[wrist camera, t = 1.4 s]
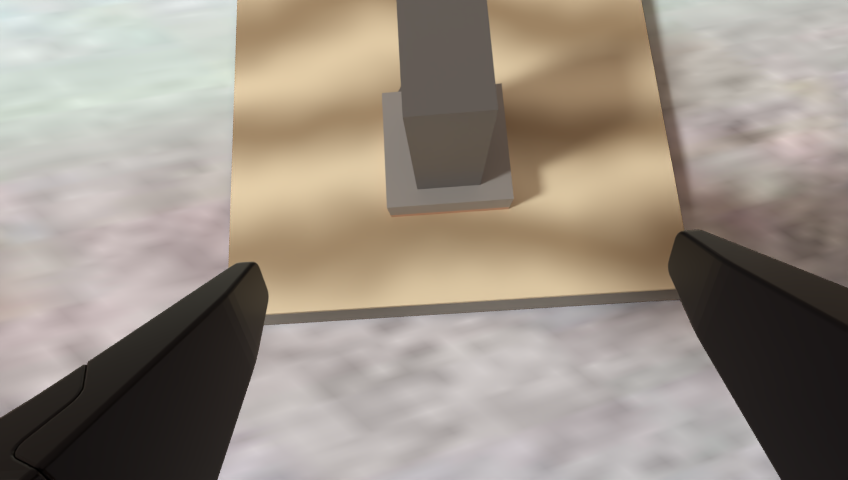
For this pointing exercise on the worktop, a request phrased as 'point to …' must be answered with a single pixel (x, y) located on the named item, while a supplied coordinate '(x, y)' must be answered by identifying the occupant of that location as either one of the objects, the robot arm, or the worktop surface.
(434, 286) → the birch board
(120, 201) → the worktop surface
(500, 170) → the grey stepped block
